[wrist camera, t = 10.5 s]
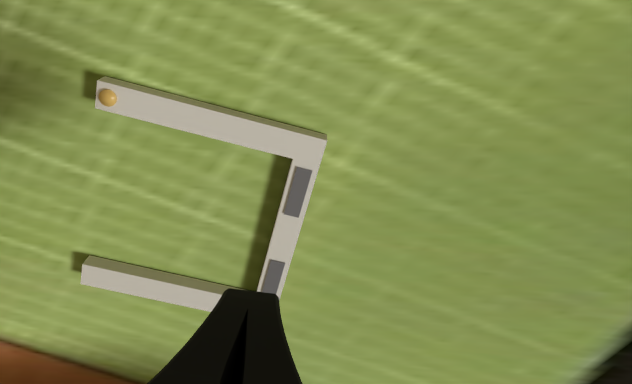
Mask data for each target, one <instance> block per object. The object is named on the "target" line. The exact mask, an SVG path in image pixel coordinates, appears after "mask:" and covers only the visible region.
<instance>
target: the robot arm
mask: <svg viewBox="0 0 632 384" xmlns="http://www.w3.org/2000/svg"><path fill="white" fill-rule="evenodd" d="M147 384H302V382H301V379H300V377H299V374H298V372H297V369H296V367H295V364H294V361H293V358H292V356H291V352H290V349H289V346H288V343H287V340H286V336H285V333H284V329H283V324H282V320H281V315H280V307H279V297H278V296H277V295H276V294H273V293H265V292H256V291H248V290H240V289H231V288H228V289H227V290H225V291H224V292H223V294H222V296H221V298H220V299H219V301H218V303H217V304H216V306H215V307H214V309H213V310H212V311H211V313H210V314H209V316H208V317H207V318H206V320H205V321H204V322H203V324H202V325H201V326H200V327H199V329H198V330H197V331H196V332H195V333H194V335H193V336H192V337H191V338H190V340H189V341H188V342H187V343H186V344H185V345H184V346H183V348H182V349H181V350H180V351H179V352H178V353H177V354H176V355H175V356H174V357H173V358H172V359H171V361H170V362H169V363H168V364H167V365H166V366H165V367H164V368H163V369H162V370H161V371H160V372H159V373H158V374H157V375H156V376H155V377H154V378H153V379H152V380H150V381H149V382H148V383H147Z"/></svg>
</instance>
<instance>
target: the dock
mask: <svg viewBox="0 0 632 384" xmlns="http://www.w3.org/2000/svg"><path fill="white" fill-rule="evenodd" d="M95 108H96V109H100V110H104V111H108V112H112V113H116V114H120V115H124V116H128V117H132V118H135V119H139V120H143V121H147V122H151V123H155V124H159V125H163V126H167V127H171V128H174V129H178V130H182V131H186V132H190V133H194V134H198V135H202V136H206V137H210V138H213V139H217V140H221V141H225V142H229V143H233V144H237V145H241V146H245V147H249V148H252V149H256V150H260V151H264V152H268V153H272V154H276V155H280V156H284V157H288V158H292V161H291V165H290V169H289V172H288V176H287V180H286V183H285V187H284V191H283V194H282V198H281V202H280V205H279V209H278V213H277V216H276V220H275V224H274V227H273V231H272V235H271V238H270V242H269V246H268V249H267V253H266V257H265V261H264V264H263V268H262V272H261V275H260V279H259V283H258V286H257V290H256V292H265V293H273V294H276V295H277V296H278V297H279V299H280V296H281V293H282V289H283V286H284V283H285V279H286V276H287V273H288V269H289V266H290V263H291V259H292V256H293V253H294V249H295V246H296V243H297V239H298V236H299V233H300V229H301V226H302V223H303V220H304V216H305V213H306V210H307V206H308V203H309V200H310V196H311V193H312V190H313V186H314V183H315V180H316V176H317V173H318V170H319V166H320V163H321V160H322V156H323V153H324V150H325V146H326V143H327V135H326V134H322V133H318V132H315V131H311V130H307V129H303V128H299V127H296V126H292V125H288V124H284V123H281V122H277V121H273V120H269V119H265V118H262V117H258V116H254V115H250V114H247V113H243V112H239V111H235V110H231V109H228V108H224V107H220V106H216V105H212V104H209V103H205V102H201V101H197V100H194V99H190V98H186V97H182V96H178V95H175V94H171V93H167V92H163V91H160V90H156V89H152V88H148V87H144V86H141V85H137V84H133V83H129V82H125V81H122V80H118V79H114V78H110V77H107V76H104V77H102V78H100V79H98V80H97V89H96V101H95ZM81 284H84V285H88V286H93V287H98V288H102V289H107V290H112V291H116V292H121V293H126V294H130V295H135V296H140V297H144V298H149V299H153V300H158V301H163V302H167V303H172V304H177V305H181V306H186V307H191V308H195V309H200V310H205V311H209V312H211V311H212V310H213V309H214V307H215V306H216V304H217V303H218V301H219V299H220V298H221V296H222V294H223V292H224V291H225V290H227V289H228V288H231V289H239V288H235V287H230V286H226V285H221V284H217V283H212V282H208V281H203V280H199V279H194V278H190V277H185V276H181V275H176V274H172V273H167V272H163V271H158V270H154V269H149V268H145V267H140V266H136V265H131V264H127V263H122V262H118V261H113V260H109V259H104V258H100V257H95V256H91V255H89V256H88V258H87V259H86V260H85V261H84V263H83V264H82V274H81ZM240 290H244V289H240Z"/></svg>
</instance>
